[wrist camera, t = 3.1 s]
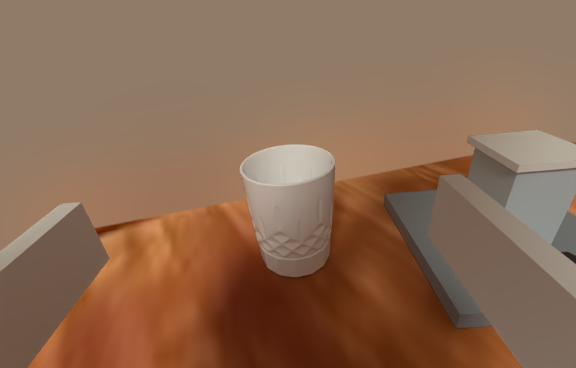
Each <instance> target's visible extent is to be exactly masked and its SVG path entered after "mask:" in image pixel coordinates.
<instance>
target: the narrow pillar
mask: <svg viewBox="0 0 576 368" xmlns="http://www.w3.org/2000/svg"><path fill="white" fill-rule="evenodd" d="M467 143H469V144H471V145H472V146H474V147H475V150H474V154H473V158H472V162H471V166H470V170H469V174H468V178H467V179H468V180H470V181H471V182H472V183H473V184H475V185H476V186H477V187H479V188H480V189H481V190H482V191H484V192H485V193H486V194H487V195H489V196H490V197H491V198H492V199H494V200H495V201H496V202H498V203H499V204H500V205H501V206H503V207H504V208H505V209H506V210H508V211H509V212H510V213H512V214H513V215H514V216H515V217H517V218H518V219H519V220H520V221H522V222H523V223H524V224H525V225H527V226H528V227H529V228H531V229H532V230H533V231H534V232H536V233H537V234H538V235H539V236H541V237H542V238H543V239H544V240H546V241H547V242H548V243H550V244H551V245H552V246H553V247H555V248H556V249H557V250H558V251H560V252H569V253H571V254H573V255H575V256H576V216H574V215H573V214H571V213H569V212H568V208H569V206H570V204H571V202H572V200H573V198H574V196H575V194H576V144H573V143H571V142H568V141H566V140H563V139H560V138H558V137H556V136H553V135H551V134H548V133H545V132H543V131H540V130H530V131H520V132H519V131H518V132H508V133H496V134H485V135H473V136H468V140H467ZM436 191H437V190H426V191H414V192H402V193H391V194H385V199H384V205H385V207H386V209H387V211H388V212H389V214H390V216H391V218H392V219H393V221H394V223H395V224H396V226H397V228H398V230H399V231H400V233H401V235H402V237H403V238H404V240H405V242H406V243H407V245H408V247H409V249H410V250H411V252H412V254H413V256H414V257H415V259H416V261H417V262H418V264H419V266H420V268H421V269H422V271H423V273H424V275H425V276H426V278H427V280H428V281H429V283H430V285H431V287H432V288H433V290H434V292H435V294H436V295H437V297H438V299H439V300H440V302H441V304H442V306H443V307H444V309H445V311H446V313H447V314H448V316H449V318H450V319H451V321H452V323H453V325H454V326H455V328H468V327H482V326H492V325H491V324H490V322H489V321H488V320H487V318H486V317H485V315H484V314H483V313H482V311H481V310H480V308H479V307H478V306H477V304H476V303H475V301H474V300H473V299H472V297H471V296H470V295H469V293H468V292H467V290H466V289H465V288H464V286H463V285H462V283H461V282H460V281H459V279H458V278H457V276H456V275H455V274H454V272H453V271H452V269H451V268H450V267H449V265H448V264H447V262H446V261H445V260H444V258H443V257H442V255H441V254H440V253H439V251H438V250H437V248H436V247H435V246H434V244H433V243H432V242H431V240H430V239H429V237H428V236H427V234H428V229H429V225H430V220H431V215H432V210H433V206H434V201H435V196H436Z"/></svg>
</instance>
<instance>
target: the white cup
mask: <svg viewBox="0 0 576 368" xmlns="http://www.w3.org/2000/svg"><path fill="white" fill-rule="evenodd" d="M240 174H241V177H242V182H243V186H244V190H245V194H246V199H247V203H248V207H249V211H250V215H251V219H252V223H253V226H254V230H255V234H256V238H257V241H258V243H259V247H260V251H261V255H262V258H263V260H264V262H265V264H266V266H267V268H268V269H270V270H272V271H273V272H275V273H276V274H278V275H280V276H287V277H295V278H296V277H301V276H306V275H310V274H313V273H314V272H316V271H317V270H319V269H320V268H321V267H323V266H324V265H325V263H326V261H327V259H328V257H329V255H330V235H331V230H332V216H333V204H334V179H335V158H334V156H333V155H332V154H331V153H330V152H328V151H327V150H325V149H322V148H319V147H315V146H310V145H300V144H295V145H294V144H293V145H281V146H275V147H271V148H267V149H263V150H261V151H258V152H256V153H254V154H252V155H250V156H249V157H247V158H246V159H245V160H244V161H243V162H242V164H241V166H240Z"/></svg>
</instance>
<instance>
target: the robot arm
mask: <svg viewBox="0 0 576 368" xmlns="http://www.w3.org/2000/svg"><path fill="white" fill-rule="evenodd" d="M427 236H428V237H429V239H430V240H431V242H432V243H433V244H434V246H435V247H436V248H437V250H438V251H439V253H440V254H441V255H442V257H443V258H444V260H445V261H446V262H447V264H448V265H449V267H450V268H451V269H452V271H453V272H454V274H455V275H456V276H457V278H458V279H459V281H460V282H461V283H462V285H463V286H464V288H465V289H466V290H467V292H468V293H469V295H470V296H471V297H472V299H473V300H474V301H475V303H476V304H477V306H478V307H479V308H480V310H481V311H482V313H483V314H484V315H485V317H486V318H487V320H488V321H489V322H490V324H491V325H492V327H493V328H494V329H495V331H496V332H497V334H498V335H499V336H500V338H501V339H502V341H503V342H504V343H505V345H506V346H507V347H508V349H509V350H510V352H511V353H512V354H513V356H514V357H515V359H516V360H517V361H518V363H519V364H520V366H521V367H522V368H576V256H575V255H573V254H571V253H569V252H560V251H558V250H557V249H556V248H555V247H553V246H552V245H551V244H550V243H548V242H547V241H546V240H544V239H543V238H542V237H541V236H539V235H538V234H537V233H536V232H534V231H533V230H532V229H531V228H529V227H528V226H527V225H525V224H524V223H523V222H522V221H520V220H519V219H518V218H517V217H515V216H514V215H513V214H512V213H510V212H509V211H508V210H506V209H505V208H504V207H503V206H501V205H500V204H499V203H498V202H496V201H495V200H494V199H492V198H491V197H490V196H489V195H487V194H486V193H485V192H484V191H482V190H481V189H480V188H479V187H477V186H476V185H475V184H473V183H472V182H471V181H470V180H468V179H467V178H466V177H465V176H463V175H462V174H452V175H440V177H439V182H438V187H437V191H436V196H435V201H434V206H433V210H432V215H431V220H430V225H429V229H428V234H427ZM108 260H109V256H108V254H107V252H106V250H105V249H104V247H103V245H102V243H101V241H100V239H99V237H98V235H97V233H96V231H95V229H94V227H93V225H92V223H91V221H90V219H89V217H88V215H87V213H86V211H85V209H84V207H83V205H82V203H81V202H80V203H67V204H60V205H59V206H57V207H56V208H55V209H54V210H52V211H51V212H50V213H48V214H47V215H46V216H45V217H43V218H42V219H41V220H40V221H38V222H37V223H36V224H34V225H33V226H32V227H31V228H29V229H28V230H27V231H25V232H24V233H23V234H22V235H20V236H19V237H18V238H17V239H15V240H14V241H13V242H12V243H10V244H9V245H8V246H7V247H5V248H4V249H3V250H1V251H0V368H27V367H28V366H29V365H30V363H31V362H32V361H33V359H34V358H35V357H36V355H37V354H38V353H39V351H40V350H41V349H42V347H43V346H44V345H45V343H46V342H47V341H48V339H49V338H50V337H51V335H52V334H53V333H54V331H55V330H56V329H57V327H58V326H59V325H60V323H61V322H62V321H63V319H64V318H65V317H66V315H67V314H68V313H69V312H70V310H71V309H72V308H73V306H74V305H75V304H76V302H77V301H78V300H79V298H80V297H81V296H82V294H83V293H84V292H85V290H86V289H87V288H88V286H89V285H90V284H91V282H92V281H93V280H94V278H95V277H96V276H97V274H98V273H99V272H100V270H101V269H102V268H103V266H104V265H105V264H106V262H107V261H108Z"/></svg>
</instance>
